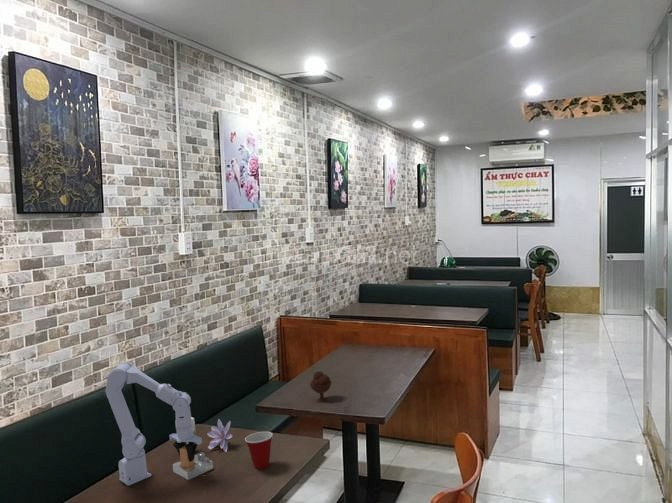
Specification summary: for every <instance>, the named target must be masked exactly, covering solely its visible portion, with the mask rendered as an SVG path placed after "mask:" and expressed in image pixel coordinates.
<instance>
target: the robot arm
mask: <svg viewBox="0 0 672 503" xmlns="http://www.w3.org/2000/svg"><path fill="white" fill-rule="evenodd" d="M106 380H107V381H106V386H105V394H106V397H107V400H108V402H109V405H110V408H111V410H112V412H113V413H112V414H113V416H114V418H115V421H116V423H117V426H118V428H119V430H120V431H119V432H120V433H121V446H122V449H121V451H122V454H123V458H122V459H120V460H119V461H118V471H119V481H120V482H122V483H124V484H125V485H127V486H132V485H134V484H136V483H138V482H141V481H144V480H145V479H148V478H150V477H152V473H150V472H148V468H147V459H146V458H147V457H146V450H145V449H144V446H145V445H146V442H147V439H146V437H145V435H143V433H142V432H141V430H140V429H139V428H138V427H136V424H135V423H134V420H133V416H132V415H131V412H130V409H129V407H128V405H127V402H126V399H125V396H124V393H123V392H122V389H123V388H124V385H125V383H126V384H127V385H130V384H135V383H136V384H138V385H140V386H142V387H144V388H146V389H148V390H150V391H152V392H154V394H155V396H156V398H158V399H159V400H161V401H162V402H164V403H166V404H168V405H170V406H172V410H173V411H175V413H174V415H175V420H176V423H175V427H176V426H177V434H176V433H171V434H169V436H168V437H169V441H174V443H173V444H172V445H173V448H175V450H176V451H177V454H178V455H179V457H180V448H181V447H183V446H185V448H186V450H187V453H188V459H189V462H191V461H193V460H194V456H195V455H196V452H197V451H196V448H197V447H198V446H199V445H201V444H202V443H203V439H202V437H200V436H197V435H196V436H195V435H193V431H192V420H191V417H192V413H191V412H192V411H191V406H190V404H191V403H192V398H191V396H190V395H189V394H188V392H185V391H181V390H177V389H175V388H174V387H172V385H171V384H170V383H159V382H158V381H156V380H154V379H153V378H152V377H150V376H148V375H147V374H146V373H144V372H143V371H141V370H140V369H139V368H138V367H136V366H135V365H132V364H131V363H129V362H121V363H119V364H118V365H117V366H116V367H115V368H114V369H112V370H111V371H110V372H109V374H108V375H107V377H106ZM186 442H189V444H186ZM197 449H198V448H197Z"/></svg>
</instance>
